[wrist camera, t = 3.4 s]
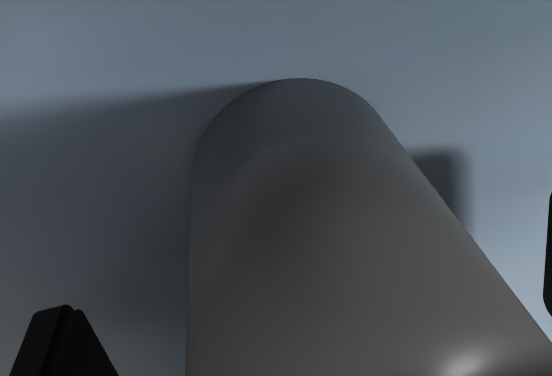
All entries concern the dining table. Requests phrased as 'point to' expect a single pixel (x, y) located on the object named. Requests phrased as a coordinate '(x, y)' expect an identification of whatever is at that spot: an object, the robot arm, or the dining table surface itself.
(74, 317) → the robot arm
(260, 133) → the plug
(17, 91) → the dining table surface
